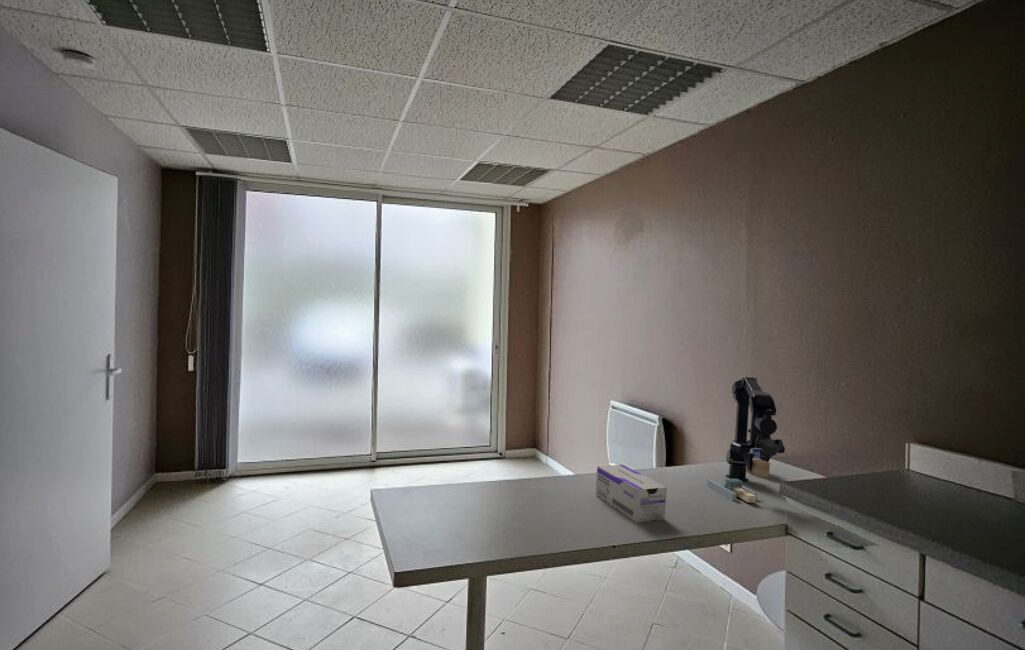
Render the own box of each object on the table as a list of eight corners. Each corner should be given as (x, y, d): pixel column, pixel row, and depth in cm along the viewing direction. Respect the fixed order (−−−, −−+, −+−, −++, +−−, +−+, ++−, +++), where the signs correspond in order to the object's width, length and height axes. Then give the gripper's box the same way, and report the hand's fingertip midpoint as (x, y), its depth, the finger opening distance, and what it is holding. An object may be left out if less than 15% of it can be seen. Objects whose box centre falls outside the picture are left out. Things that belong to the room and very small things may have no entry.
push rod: (724, 490, 201) (725, 478, 201) (736, 490, 203) (737, 478, 202) (746, 502, 189) (746, 490, 189) (758, 502, 190) (759, 490, 190)
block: (745, 471, 196) (746, 458, 196) (757, 471, 197) (758, 458, 197) (756, 476, 190) (757, 463, 190) (768, 476, 191) (769, 463, 191)
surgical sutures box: (664, 520, 171) (666, 487, 171) (636, 523, 167) (638, 489, 167) (621, 493, 195) (622, 464, 194) (595, 495, 191) (597, 466, 190)
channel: (707, 485, 208) (707, 479, 208) (729, 485, 211) (730, 479, 210) (732, 500, 193) (732, 493, 193) (756, 500, 195) (757, 493, 195)
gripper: (751, 433, 184) (748, 478, 184) (797, 433, 188) (794, 477, 189) (731, 426, 195) (728, 468, 195) (775, 426, 199) (772, 467, 199)
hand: (756, 470), depth 194 cm, fingers closed on block, 5 cm apart
